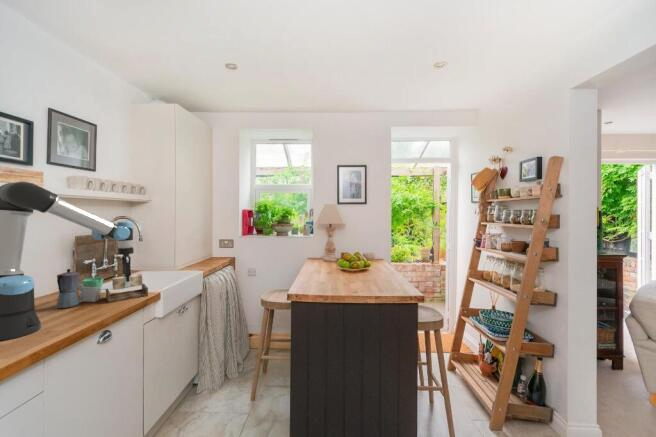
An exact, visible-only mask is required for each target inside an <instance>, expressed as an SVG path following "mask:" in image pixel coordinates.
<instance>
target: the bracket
mask: <svg viewBox="0 0 656 437" xmlns="http://www.w3.org/2000/svg"><path fill="white" fill-rule="evenodd" d="M98 289H99V291H98ZM77 291H79V292H80V295H78V300H79V304H80V303H81V302H90V303H91V302H93V303H95V302H97V301H99V300H101V294H102V293H101V292H102V287H101V286H100V287H84V286H83V284H79V283H78V287H77Z"/></svg>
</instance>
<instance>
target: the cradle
mask: <svg viewBox="0 0 656 437" xmlns="http://www.w3.org/2000/svg"><path fill="white" fill-rule="evenodd" d="M142 297H143V298H144V297H149V287H148V286H147V285H146V284H145V283H143V282H142V285H141V288H140V289H134V290H128V291H121V292H115V293H111V291H110V290H109V288H105V298H106V300H107V303H109V304H111V303H116V302H120V301H126V300H132V299H137V298H138V299H139V298H142Z"/></svg>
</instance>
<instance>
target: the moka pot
mask: <svg viewBox="0 0 656 437" xmlns="http://www.w3.org/2000/svg"><path fill="white" fill-rule="evenodd" d="M56 280H57V285H58V286H57V287H58V290H59V294H58V298H57V303H56V308H57V309H64V308H71V307H72V308H73V307H76V306H79V305H80V303H79V300H78V297H79V295H78V290H77V288H78V284H79V280H80V272H74V271H73V272H71V268H68V269H66V272H63V273H59V274H57V275H56Z"/></svg>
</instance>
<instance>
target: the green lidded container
mask: <svg viewBox="0 0 656 437" xmlns="http://www.w3.org/2000/svg"><path fill="white" fill-rule="evenodd" d="M81 281H82V285H83V287H100V286H101V288H102V287H103V283H104V277H100V276H98V277H89V278H84V279H82V280H81ZM98 291H99V289H98Z"/></svg>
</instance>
